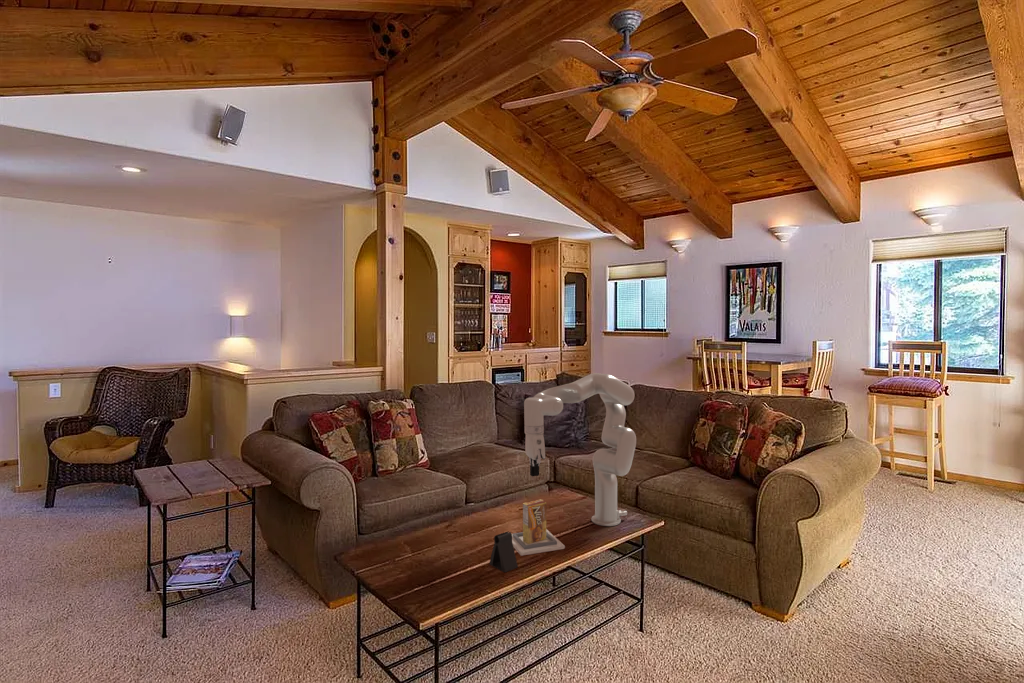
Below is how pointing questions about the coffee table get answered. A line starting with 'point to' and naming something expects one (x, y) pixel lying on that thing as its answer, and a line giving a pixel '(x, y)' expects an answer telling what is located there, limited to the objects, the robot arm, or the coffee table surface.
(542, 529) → the candy box
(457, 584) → the coffee table surface
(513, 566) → the phone stand
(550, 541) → the tile
